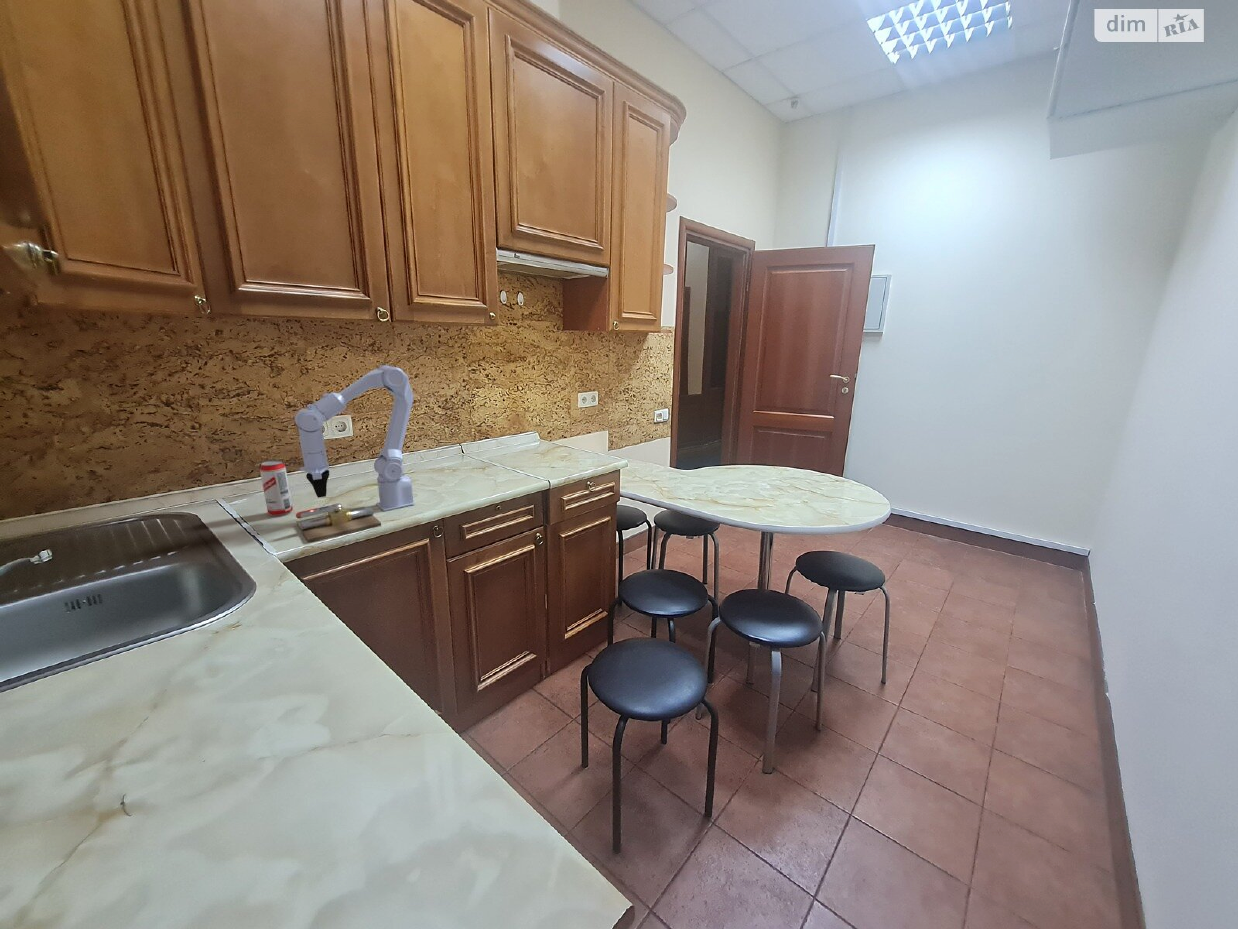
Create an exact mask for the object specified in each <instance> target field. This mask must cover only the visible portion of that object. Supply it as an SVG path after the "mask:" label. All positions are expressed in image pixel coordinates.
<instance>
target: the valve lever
mask: <svg viewBox="0 0 1238 929" xmlns="http://www.w3.org/2000/svg"><path fill="white" fill-rule="evenodd" d="M342 507H343V506H342V503H333V504H331V505H326V506H322V507H315V508H312V509H311V508H310V509H307V510H301V511H299V512H297V513H295V517H296V518H297V519H304V518H309V517H313V516H318V515H321V514H326V513H328V512H331V511H337V510H341V509H342Z"/></svg>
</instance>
